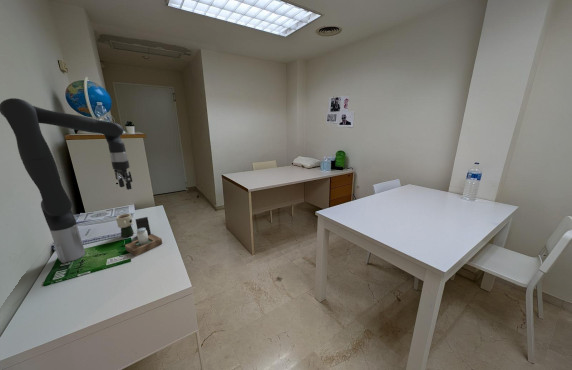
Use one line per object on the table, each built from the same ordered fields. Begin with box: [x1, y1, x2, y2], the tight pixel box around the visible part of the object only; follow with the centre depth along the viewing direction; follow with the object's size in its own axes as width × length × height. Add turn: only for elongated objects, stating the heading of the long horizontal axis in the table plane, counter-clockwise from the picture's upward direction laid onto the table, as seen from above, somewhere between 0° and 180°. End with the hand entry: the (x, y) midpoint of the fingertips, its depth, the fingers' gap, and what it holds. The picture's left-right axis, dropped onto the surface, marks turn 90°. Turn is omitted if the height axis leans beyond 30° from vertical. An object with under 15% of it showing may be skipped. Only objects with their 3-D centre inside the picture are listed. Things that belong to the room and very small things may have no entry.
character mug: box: [115, 213, 135, 238], centre depth 127 cm, size 11×7×13 cm, turn 38°
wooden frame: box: [124, 233, 163, 257], centre depth 116 cm, size 14×10×3 cm
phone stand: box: [135, 216, 152, 235], centre depth 126 cm, size 9×6×12 cm, turn 37°
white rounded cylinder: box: [136, 228, 149, 246], centre depth 115 cm, size 5×5×8 cm
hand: (125, 188), depth 121 cm, fingers open, 8 cm apart
